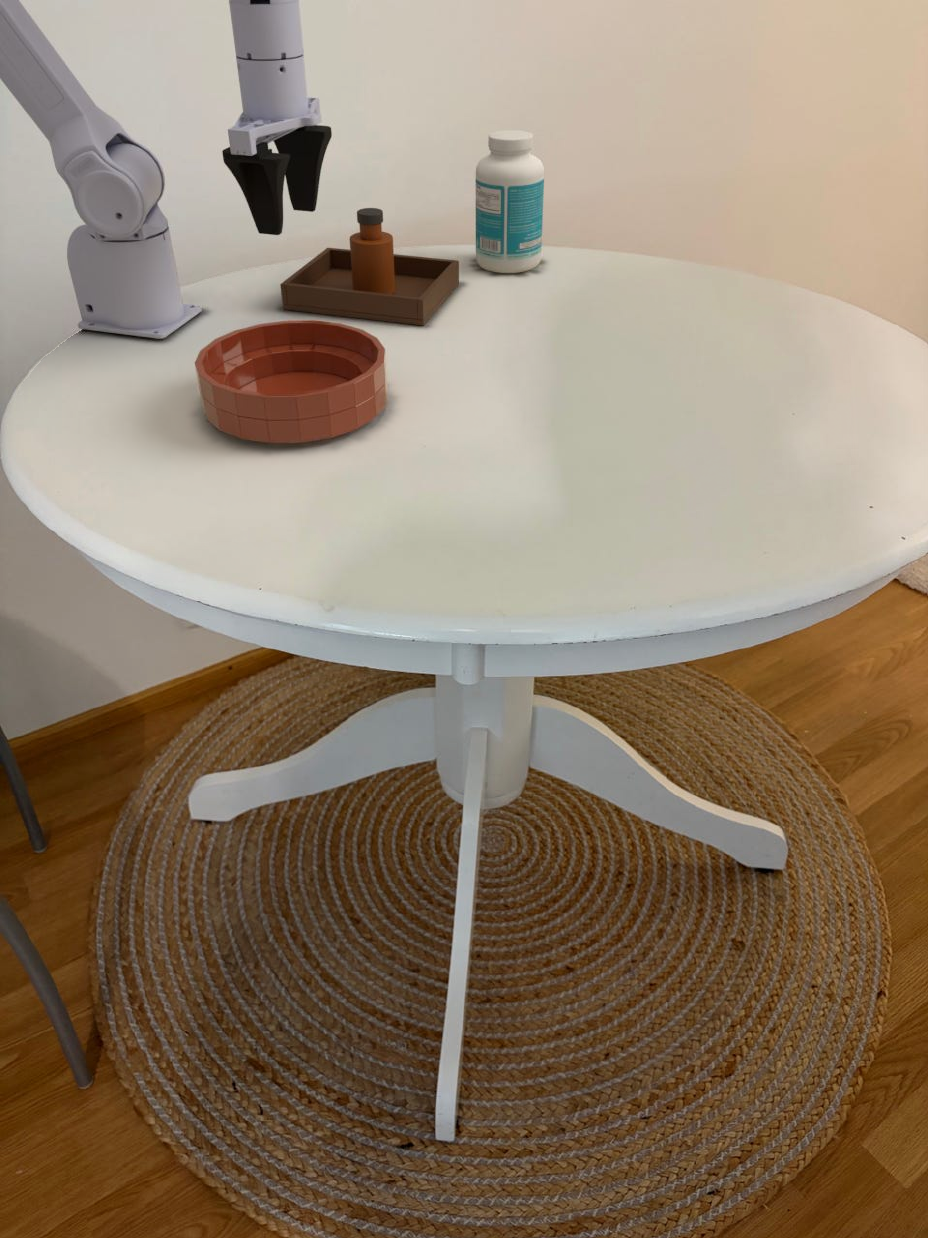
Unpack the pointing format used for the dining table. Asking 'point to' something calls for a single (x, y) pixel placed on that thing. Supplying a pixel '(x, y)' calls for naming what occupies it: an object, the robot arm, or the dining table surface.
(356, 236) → the bottle
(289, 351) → the bowl
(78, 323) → the robot arm
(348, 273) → the tray
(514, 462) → the dining table surface
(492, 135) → the pill bottle
